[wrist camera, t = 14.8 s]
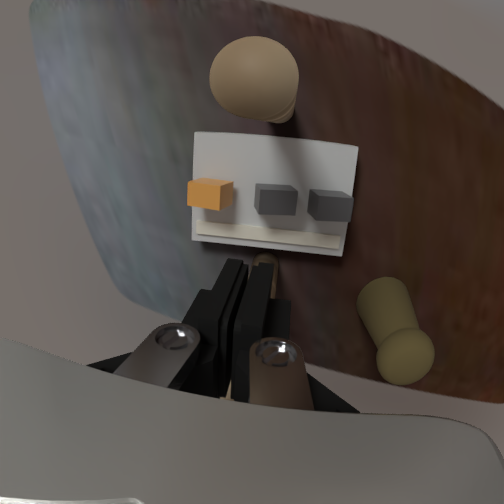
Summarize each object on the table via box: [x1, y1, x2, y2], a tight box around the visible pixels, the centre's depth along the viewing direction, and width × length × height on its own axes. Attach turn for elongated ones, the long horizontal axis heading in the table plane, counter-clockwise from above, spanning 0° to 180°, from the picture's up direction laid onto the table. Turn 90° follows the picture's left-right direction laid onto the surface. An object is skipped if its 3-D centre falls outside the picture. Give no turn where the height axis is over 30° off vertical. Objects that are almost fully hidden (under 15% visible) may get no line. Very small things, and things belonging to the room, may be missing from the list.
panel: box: [192, 132, 358, 256], centre depth 29 cm, size 14×10×2 cm
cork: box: [356, 277, 435, 385], centre depth 28 cm, size 6×6×11 cm
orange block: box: [187, 178, 234, 211], centre depth 27 cm, size 3×2×2 cm, turn 85°
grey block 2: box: [307, 189, 354, 222], centre depth 26 cm, size 3×2×2 cm, turn 87°
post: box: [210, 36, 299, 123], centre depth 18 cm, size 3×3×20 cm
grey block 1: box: [254, 183, 298, 216], centre depth 26 cm, size 3×2×2 cm, turn 86°
